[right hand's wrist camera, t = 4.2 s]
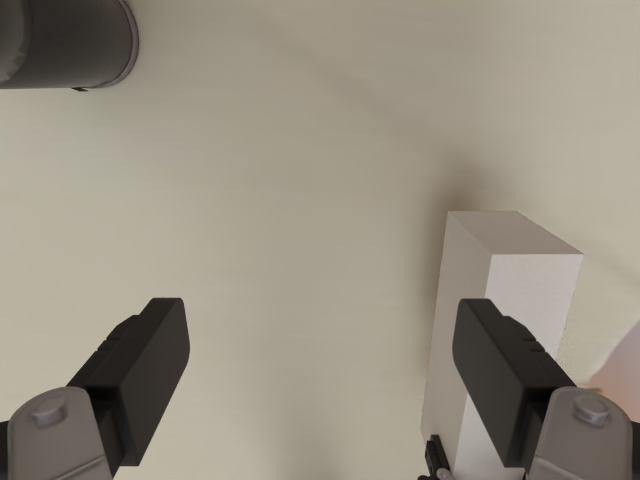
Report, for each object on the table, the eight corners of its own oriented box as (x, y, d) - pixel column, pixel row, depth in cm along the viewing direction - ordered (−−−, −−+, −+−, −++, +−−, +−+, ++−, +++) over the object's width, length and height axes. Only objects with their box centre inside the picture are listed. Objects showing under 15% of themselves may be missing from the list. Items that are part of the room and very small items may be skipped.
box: (447, 210, 34) (492, 254, 25) (516, 210, 34) (584, 254, 25) (420, 428, 43) (445, 514, 34) (474, 428, 43) (513, 514, 34)
